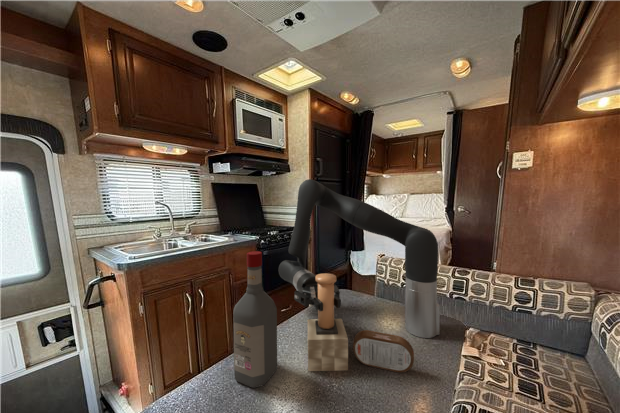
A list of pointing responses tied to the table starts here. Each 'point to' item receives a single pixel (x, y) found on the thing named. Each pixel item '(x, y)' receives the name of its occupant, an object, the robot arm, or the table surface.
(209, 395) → the table surface
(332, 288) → the flanged tan peg
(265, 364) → the liquor
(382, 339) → the tin
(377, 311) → the table surface
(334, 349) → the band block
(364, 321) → the table surface
